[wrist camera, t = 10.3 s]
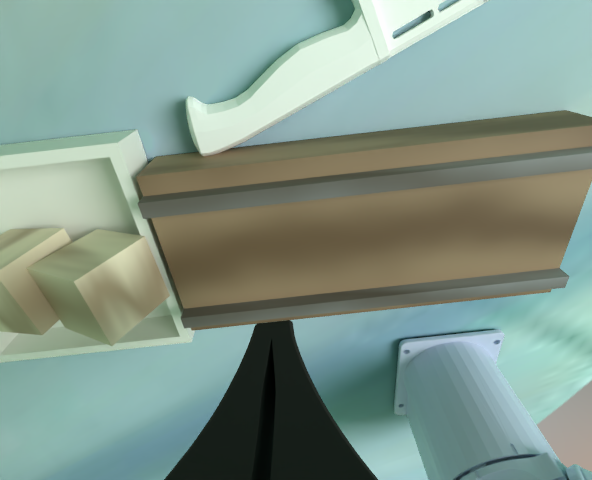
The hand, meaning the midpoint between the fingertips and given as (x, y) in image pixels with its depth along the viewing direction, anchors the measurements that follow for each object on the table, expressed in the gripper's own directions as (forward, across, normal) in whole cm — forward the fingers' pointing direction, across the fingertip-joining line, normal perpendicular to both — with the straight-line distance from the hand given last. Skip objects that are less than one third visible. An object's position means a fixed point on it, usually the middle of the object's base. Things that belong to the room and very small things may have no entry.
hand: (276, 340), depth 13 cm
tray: (+9, +13, 0) cm, 16 cm away
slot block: (+9, -5, 0) cm, 10 cm away
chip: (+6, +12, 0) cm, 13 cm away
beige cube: (+7, +8, 0) cm, 11 cm away
